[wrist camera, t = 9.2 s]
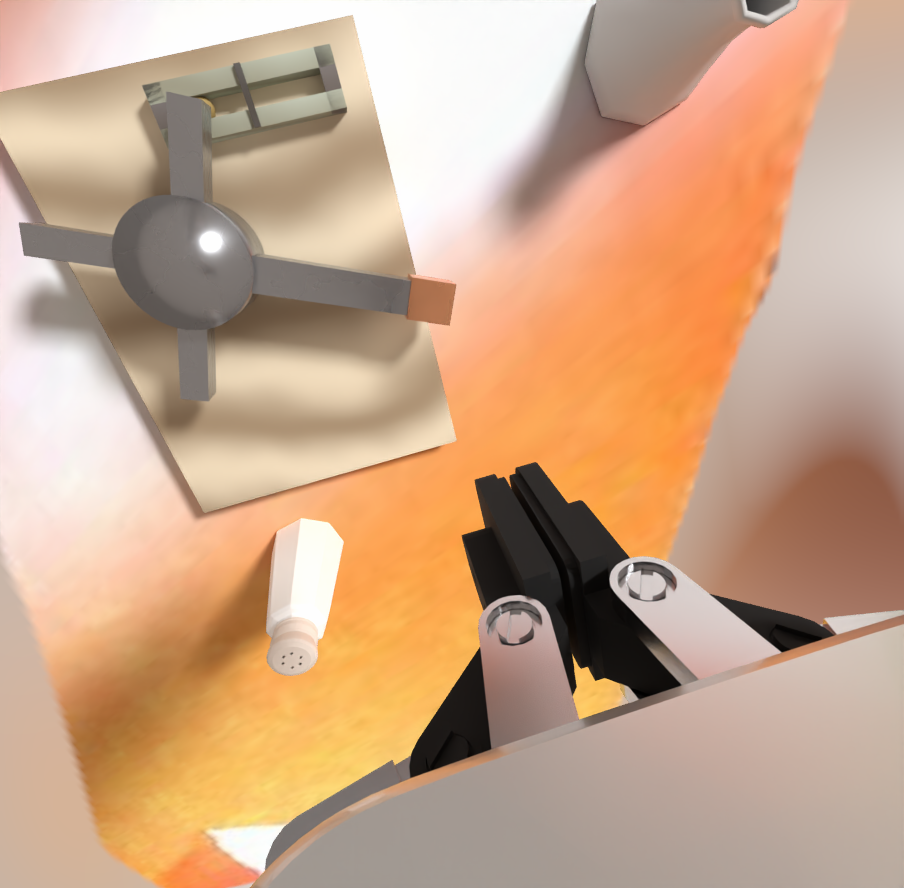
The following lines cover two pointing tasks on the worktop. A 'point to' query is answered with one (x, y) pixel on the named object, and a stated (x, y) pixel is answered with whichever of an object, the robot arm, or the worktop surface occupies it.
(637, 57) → the flask
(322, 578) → the pepper shaker
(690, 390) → the worktop surface
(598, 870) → the robot arm
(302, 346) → the wooden flat board
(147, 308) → the capstan
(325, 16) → the worktop surface
